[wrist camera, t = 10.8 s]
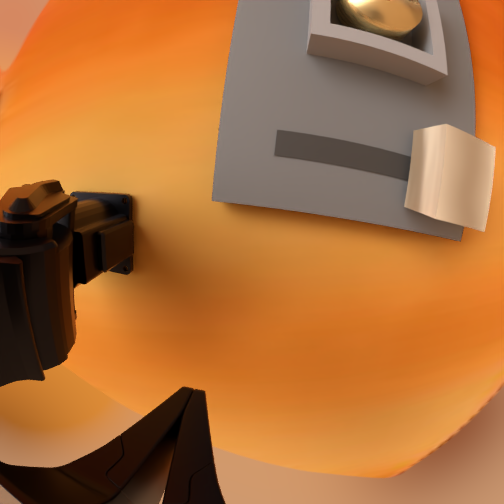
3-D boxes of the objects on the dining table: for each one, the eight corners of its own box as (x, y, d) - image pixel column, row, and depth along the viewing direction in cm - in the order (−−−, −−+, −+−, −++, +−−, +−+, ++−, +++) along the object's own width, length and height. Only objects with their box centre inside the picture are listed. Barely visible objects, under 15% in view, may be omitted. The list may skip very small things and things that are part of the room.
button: (335, 34, 12) (344, 13, 9) (335, -15, 11) (342, -38, 8) (407, 55, 12) (426, 39, 9) (402, 4, 10) (417, -14, 8)
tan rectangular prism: (404, 206, 15) (435, 218, 11) (413, 130, 14) (446, 123, 10) (450, 218, 15) (484, 232, 11) (459, 148, 13) (495, 147, 10)
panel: (218, 197, 19) (198, 207, 14) (258, -67, 10) (253, -98, 6) (447, 234, 18) (483, 253, 13) (440, -23, 9) (460, -44, 5)
